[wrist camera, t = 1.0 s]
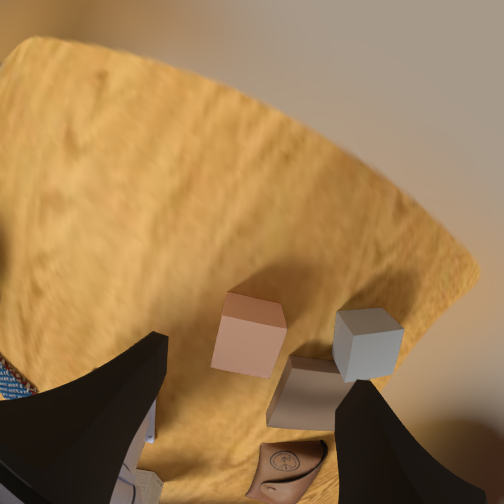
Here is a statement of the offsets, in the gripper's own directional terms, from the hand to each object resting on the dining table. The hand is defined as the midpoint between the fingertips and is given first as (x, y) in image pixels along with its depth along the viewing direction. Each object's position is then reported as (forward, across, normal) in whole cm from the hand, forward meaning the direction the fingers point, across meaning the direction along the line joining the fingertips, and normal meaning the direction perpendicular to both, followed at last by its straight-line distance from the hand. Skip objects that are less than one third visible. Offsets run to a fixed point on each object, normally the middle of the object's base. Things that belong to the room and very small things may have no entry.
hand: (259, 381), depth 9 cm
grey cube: (+13, -9, +5) cm, 17 cm away
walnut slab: (+12, -8, +12) cm, 19 cm away
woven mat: (+7, +32, +29) cm, 44 cm away
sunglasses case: (+10, -10, +30) cm, 33 cm away
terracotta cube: (+12, +1, +6) cm, 14 cm away
